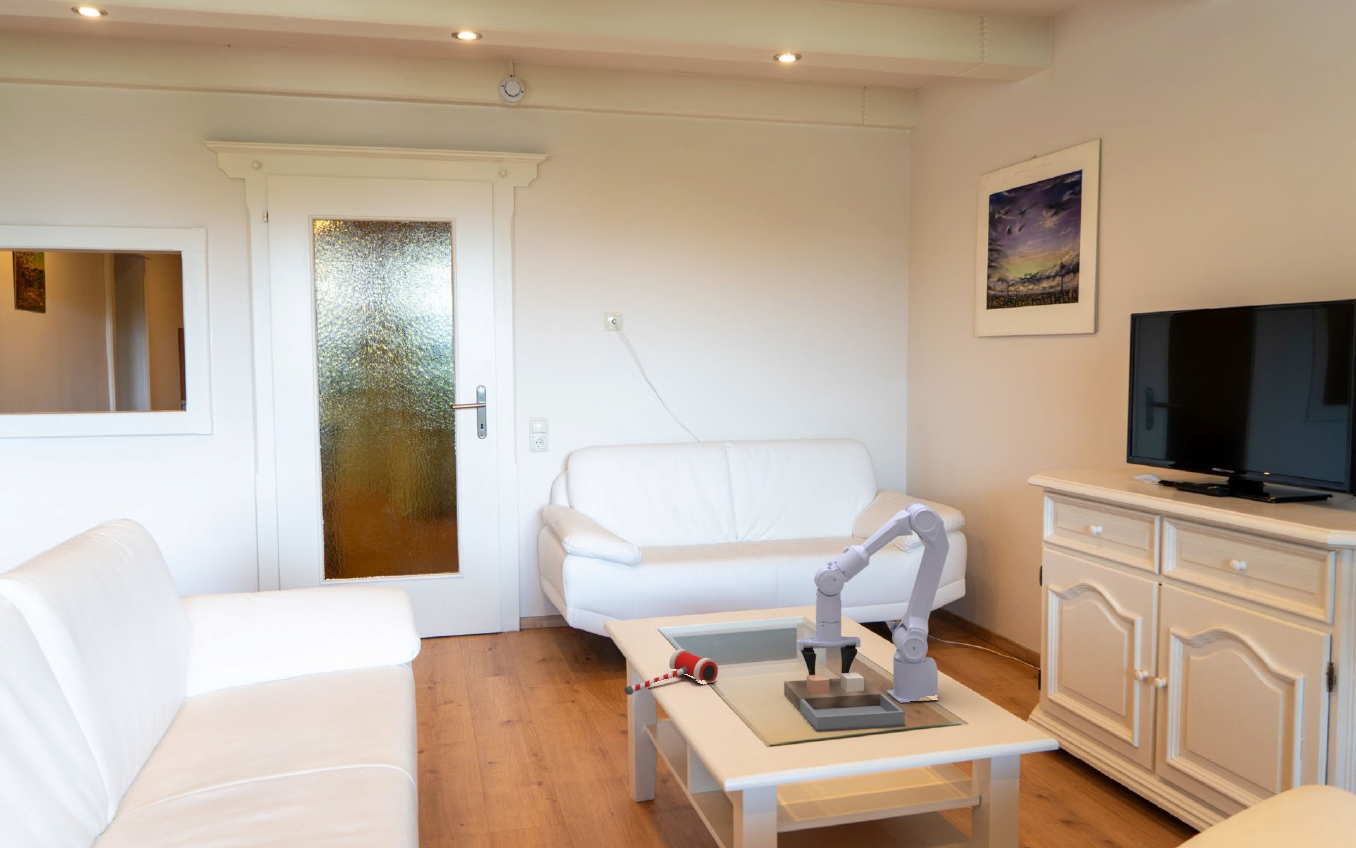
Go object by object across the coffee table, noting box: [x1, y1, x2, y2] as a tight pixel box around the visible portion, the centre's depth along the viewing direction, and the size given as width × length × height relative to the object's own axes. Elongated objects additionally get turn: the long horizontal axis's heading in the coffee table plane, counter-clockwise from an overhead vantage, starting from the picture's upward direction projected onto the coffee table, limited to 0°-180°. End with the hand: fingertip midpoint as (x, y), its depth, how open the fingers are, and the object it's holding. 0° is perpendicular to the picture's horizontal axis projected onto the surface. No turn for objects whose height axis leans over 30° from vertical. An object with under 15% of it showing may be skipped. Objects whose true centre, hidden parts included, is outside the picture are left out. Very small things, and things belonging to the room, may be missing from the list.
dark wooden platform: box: [783, 677, 884, 713], centre depth 218 cm, size 19×12×3 cm, turn 100°
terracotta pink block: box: [806, 673, 830, 694], centre depth 215 cm, size 4×4×3 cm
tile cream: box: [840, 672, 865, 692], centre depth 216 cm, size 4×4×3 cm
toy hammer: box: [624, 648, 719, 696], centre depth 229 cm, size 23×12×6 cm, turn 127°
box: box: [799, 693, 906, 733], centre depth 205 cm, size 19×12×3 cm, turn 100°
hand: (828, 679), depth 220 cm, fingers open, 7 cm apart
